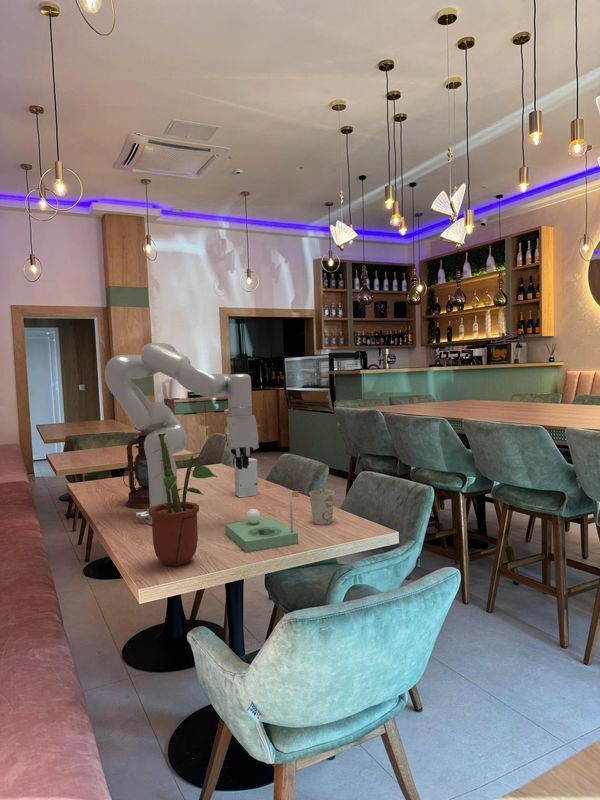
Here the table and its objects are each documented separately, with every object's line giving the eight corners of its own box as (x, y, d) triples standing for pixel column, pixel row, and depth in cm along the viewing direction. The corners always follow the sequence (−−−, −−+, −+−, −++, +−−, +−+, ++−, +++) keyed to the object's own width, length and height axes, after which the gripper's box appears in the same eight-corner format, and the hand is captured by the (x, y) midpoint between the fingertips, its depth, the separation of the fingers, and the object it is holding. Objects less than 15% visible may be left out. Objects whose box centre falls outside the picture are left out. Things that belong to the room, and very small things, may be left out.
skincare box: (238, 497, 220) (237, 461, 219) (234, 494, 226) (233, 458, 225) (258, 495, 223) (257, 459, 222) (254, 492, 229) (253, 456, 228)
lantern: (159, 494, 230) (156, 423, 228) (184, 501, 216) (181, 425, 214) (116, 503, 216) (112, 427, 215) (140, 511, 203) (136, 430, 201)
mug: (317, 527, 177) (317, 496, 176) (299, 518, 188) (298, 489, 188) (340, 523, 181) (339, 493, 180) (321, 514, 192) (320, 486, 191)
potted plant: (155, 574, 140) (149, 437, 138) (146, 556, 154) (140, 431, 152) (222, 563, 147) (217, 432, 145) (207, 546, 161) (203, 427, 159)
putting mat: (246, 552, 155) (244, 499, 154) (225, 533, 173) (223, 486, 172) (302, 542, 162) (301, 492, 161) (276, 525, 180) (275, 480, 179)
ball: (248, 526, 170) (248, 511, 169) (244, 522, 174) (243, 508, 173) (263, 524, 171) (262, 509, 171) (257, 520, 176) (257, 506, 175)
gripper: (220, 414, 172) (222, 472, 173) (266, 411, 178) (268, 467, 180) (213, 412, 179) (216, 469, 180) (258, 410, 185) (260, 464, 186)
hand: (242, 468), depth 180 cm, fingers closed
